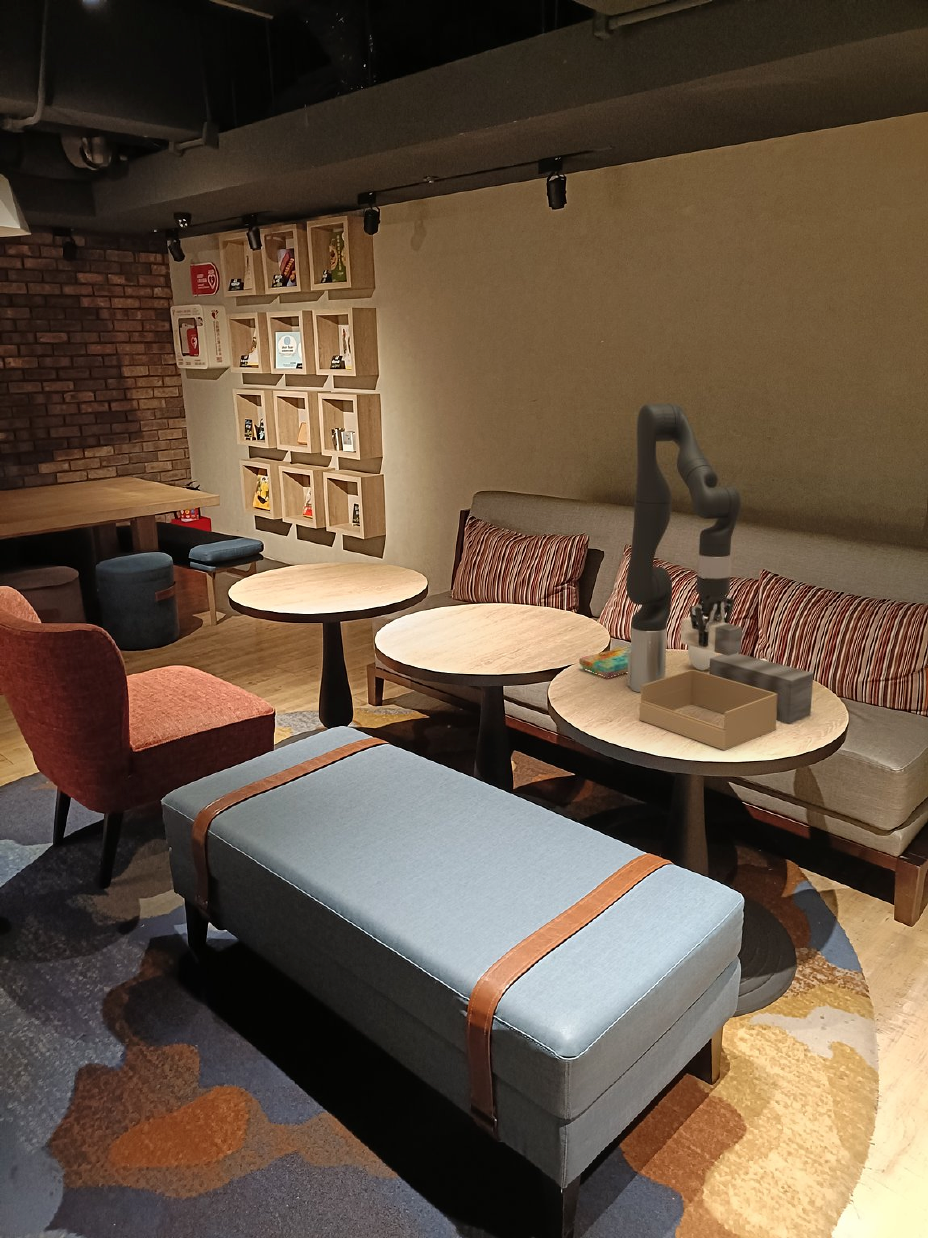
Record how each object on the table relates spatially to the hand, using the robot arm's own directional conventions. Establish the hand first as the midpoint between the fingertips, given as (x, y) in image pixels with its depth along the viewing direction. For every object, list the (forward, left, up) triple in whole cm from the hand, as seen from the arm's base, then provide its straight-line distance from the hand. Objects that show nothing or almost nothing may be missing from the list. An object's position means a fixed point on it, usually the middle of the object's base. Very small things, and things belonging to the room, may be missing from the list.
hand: (710, 643), depth 218 cm
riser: (+1, +20, -20) cm, 28 cm away
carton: (0, 0, -20) cm, 20 cm away
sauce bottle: (-28, +34, -21) cm, 49 cm away
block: (0, 0, -1) cm, 1 cm away
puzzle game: (-45, +17, -21) cm, 52 cm away
